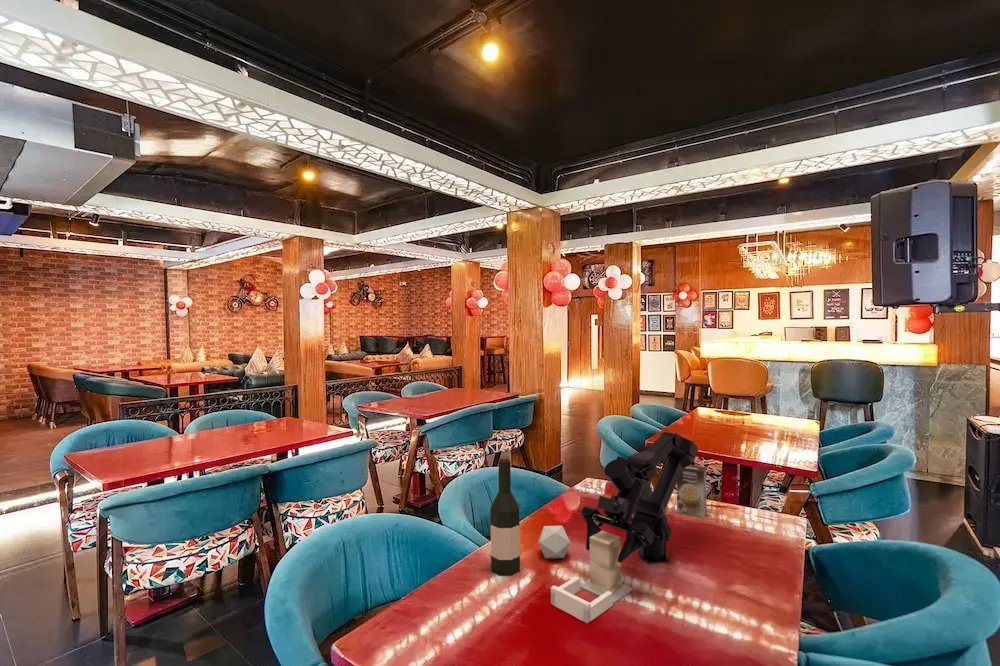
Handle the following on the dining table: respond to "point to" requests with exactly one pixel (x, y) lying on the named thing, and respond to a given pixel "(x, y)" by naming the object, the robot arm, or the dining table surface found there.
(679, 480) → the coffee box
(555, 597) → the white angular bracket
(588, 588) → the grey pad
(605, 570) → the birch block
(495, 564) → the wine bottle
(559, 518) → the dining table surface
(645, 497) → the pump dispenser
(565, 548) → the die
